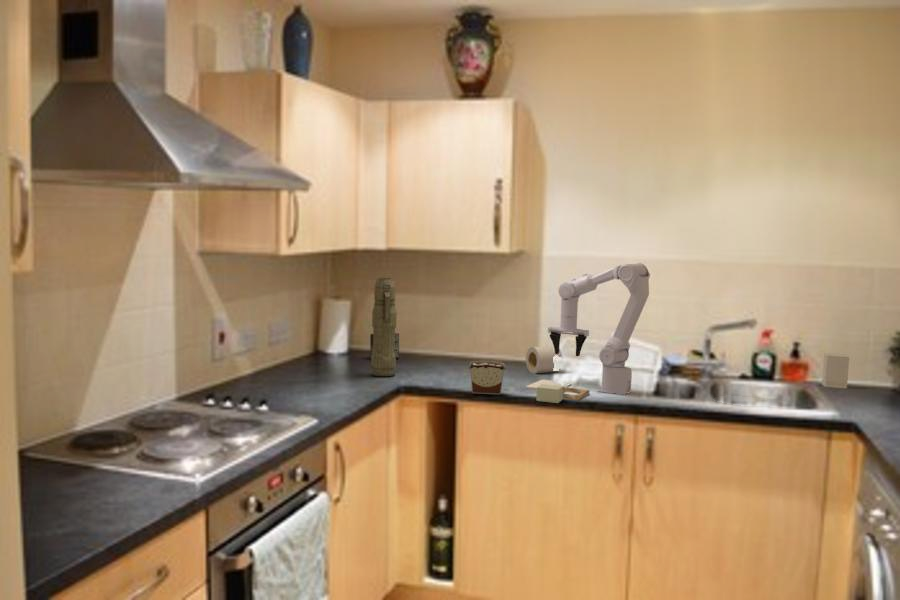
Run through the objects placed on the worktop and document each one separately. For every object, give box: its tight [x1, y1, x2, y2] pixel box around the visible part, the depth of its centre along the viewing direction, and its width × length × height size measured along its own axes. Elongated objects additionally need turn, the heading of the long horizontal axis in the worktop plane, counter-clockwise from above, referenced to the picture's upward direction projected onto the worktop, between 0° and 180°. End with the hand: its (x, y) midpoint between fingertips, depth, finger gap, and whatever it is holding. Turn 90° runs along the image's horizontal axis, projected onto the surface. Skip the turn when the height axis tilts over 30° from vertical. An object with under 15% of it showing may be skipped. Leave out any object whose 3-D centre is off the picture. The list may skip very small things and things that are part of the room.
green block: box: [536, 384, 564, 404], centre depth 249 cm, size 4×6×7 cm
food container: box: [467, 360, 507, 395], centre depth 259 cm, size 12×6×10 cm, turn 84°
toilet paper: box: [525, 345, 563, 374], centre depth 298 cm, size 10×10×10 cm
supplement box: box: [821, 352, 850, 389], centre depth 280 cm, size 7×7×13 cm
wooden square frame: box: [563, 386, 590, 401], centre depth 257 cm, size 10×11×2 cm
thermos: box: [370, 277, 398, 377], centre depth 285 cm, size 9×12×35 cm
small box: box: [369, 332, 400, 359], centre depth 319 cm, size 11×6×10 cm, turn 130°
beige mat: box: [525, 379, 565, 391], centre depth 270 cm, size 11×15×1 cm
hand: (567, 354), depth 276 cm, fingers open, 7 cm apart
